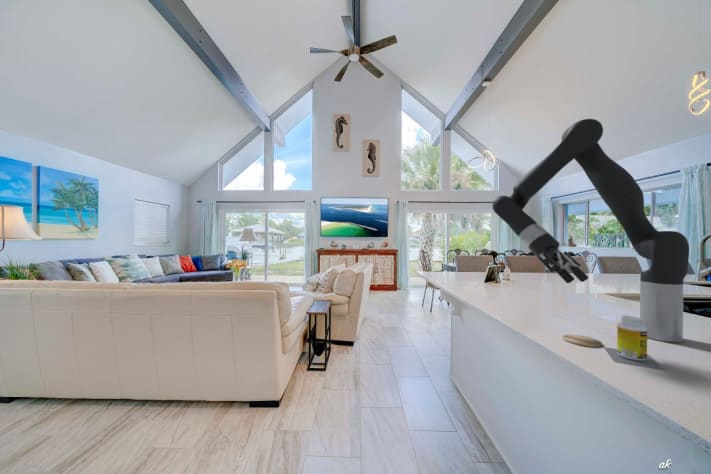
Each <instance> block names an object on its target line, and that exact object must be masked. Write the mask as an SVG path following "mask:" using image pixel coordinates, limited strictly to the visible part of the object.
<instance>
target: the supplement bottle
mask: <svg viewBox="0 0 711 474" xmlns="http://www.w3.org/2000/svg"><path fill="white" fill-rule="evenodd" d="M642 325H643V319H642V318H640V316H639V317H637V316H634V315H633V316H632V315H622V316H621V321H620V322H619V323H617V326H616V327H617V330H616V331H617V332H616V335H617V337H616V341H617V342H616V349H617V353H618V354H619V355H620V356H622V357H624V358H627V359H631V360H636V361H645V360H646V359H647V354H648V337H647V328H646V327H644V326H642Z"/></svg>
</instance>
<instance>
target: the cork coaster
mask: <svg viewBox="0 0 711 474" xmlns="http://www.w3.org/2000/svg"><path fill="white" fill-rule="evenodd" d="M562 339H563V341H565V342H567V343H570V344H573V345H577V346H579V347H585V348H601V347H603V342H602V341H601V340H598V339H596V338H593V337H590V336H585V335H580V334H564V335H562Z"/></svg>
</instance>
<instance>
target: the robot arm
mask: <svg viewBox="0 0 711 474" xmlns="http://www.w3.org/2000/svg"><path fill="white" fill-rule="evenodd" d="M603 133H604V128H603V125H602V123H601V122H600V121H598V120H597V119H594V118H585V119H581V120H579V121H576V122H574V123H573V124H571V126H568V127H567V128H566V129H565V130H564V132H563V134H562V135H561V142H560V143H559V144H557V146H556V147H555V148H554V149H553V150H552V151H551V152H550V153H549V154H548V155H547V156H545V157H544V158H543V159H542V160H541V161H540V162H538V163H537V164H536V165H535V166H534V167H532V168H531V169H530V170H528V172H527V173H526V174H524V175H523V177H522V178H520V179H519V181H517V182H516V183H515V184H514V186H513V189H512V193H511V195H510V196H508V195H500V196H498V197H496V198H495V199H494V200H493V202H492V210H493V212H494V213H495V214H496V216H497V215H498V216H499V218H500V219H501V220H502V221H504V222H505V223H506V225H508V226H509V228H510V229H511V230H512V231H513V233H515V235H516V236H517V237H518V238H519V239H520V240H521V242H522V243H523V244H524V245H525V246H526V247H527V248H528V249H529V251H531V252H532V254H534V256H535V257H536V258H538V260H540V262H541V263H543V265H544V266H545V267H546V268H547V269H548V270H549V272H551V273H552V272H554V273H555V274H558V276H560V278H561V279H562V280H563V281H564V282H566V284H570V283H572V282H573V281H575V277H576V278H577V279H578V280H579V281H580V282H585V281H587V280H588V279H589V276H588V275H587V274H586V273H585V272H584V271H583V270H582V269H581V264H580V263H579V262H578V261H577V260H576V259H575V258H574V257H573V256H571V255H570V254H569V253H568V252H567V251H564V252H563V251H560V250H558V249H559V247H560V242H559V241H558V240H557V239H556V238H555V237H554V236H553V235H552V234H550V233H549V231H548V230H546V229H545V228H544V227H543V226H541V225H540V224H539V223H537V221H536V220H535V219H533V218H532V217H531V216H530V215H528V213H526V212H525V211H524V210H523V209H524V208H525V207H526V206H527V205H528V203H529V202H530V200H531V199H532V198H533V197H534V196H536V194H537V193H538V192H539V191H540V190H541V189H542V188H544V187H545V186H546V185H547V184H548V183H549V182H550V181H551V180H552V179H553V178H554V177H555V176H556V175H557V174H558V173H559V172H560V171H561V170H562V169H563V168H565V167H566V166H567V165H568V164H570V163H571V162H572V161H573V160H575V161H576V163H578V165H579V166H580V167H581V169H582V170H583V171H584V173H585V175H586V176H587V178H588V180H589V181H590V182H591V185H592V186H593V187H594V188H595V190H596V191H597V193H598V195H599V196H600V197H601V199H602V201H603V202H604V203H605V205H606V206H608V208H609V209H610V211H611V213H612V214H613V215H614V217H615V218H616V220H617V221H618V222H619V224H620V225H621V227H622V229H623V230H624V233H625V234H626V236H627V238H628V240H629V242H630V244H631V246H632V247H633V249H634V250H635V252H636V253H637V254H638V255H639V256H640V257H641V258H643V259H645V260H651V263H650V264H651V265H650V267H649V268H648V269H646V270H644V271H642V272H640V276H639V277H640V279H639V280H640V281H639V292H640V293H639V318H642V319H643V325H642V326H644V327H646V328H647V339H652V340H656V341H661V342H669V343H683V342H684V279H685V277H687V275H688V269H689V261H690V259H689V258H690V244H689V241H688V239H687V237H686V236H685V235H684V234H683V233H680V232H678V231H675V230H674V231H673V230H659V231H658V229H656V228H655V227H654V225H653V224H652V223H651V222H650V220H649V219H648V217H647V215H646V213H645V212H646V211H645V198H644V193H643V190H642V188H641V186H640V185H639V184H638V183H637V181H636V180H635V179H634V177H633V176H632V174H631V173H629V171H627V169H625V168H624V167H623V166H621V165H620V164H618V162H616V161H615V160H613V159H612V158H610V156H608V155H607V153H606V152H605V151H604V150H603V148H602V147H601V145H600V143H599V141H601V139H602V136H603ZM570 272H571V273H572V274H573V275H574V276H575V277H574V276H573V275H572V274H571V273H570Z"/></svg>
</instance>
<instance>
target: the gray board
mask: <svg viewBox="0 0 711 474" xmlns="http://www.w3.org/2000/svg"><path fill="white" fill-rule="evenodd" d="M603 349H604V350H605V352H606V353H607V354H608V355H609V357H610V358H611V359H612V361H613V362H614V363H620V364H625V365H630V366H631V365H632V366H637V367H641V368H642V367H643V368H648V369H653V370H660V371H664V370H665V371H664V372H666V369H665V368H664V367H663V366H662V365H661V364H660V363H658V362H657V361H656V360H655V359H654V358H653V357H652V356H651V355H650V354H648V353H647V359H646V360H645V361H636V360H631V359H627V358H624V357H622V356H620V355H619V354H618V353H617V348H611V347H607V346H603Z"/></svg>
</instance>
